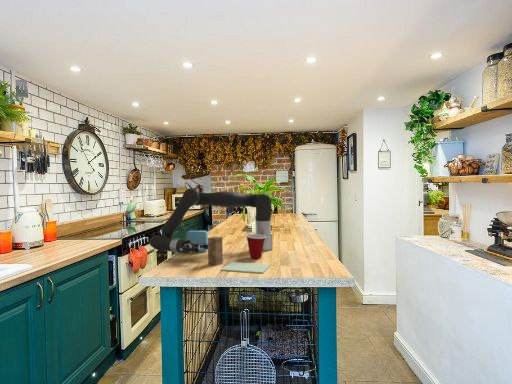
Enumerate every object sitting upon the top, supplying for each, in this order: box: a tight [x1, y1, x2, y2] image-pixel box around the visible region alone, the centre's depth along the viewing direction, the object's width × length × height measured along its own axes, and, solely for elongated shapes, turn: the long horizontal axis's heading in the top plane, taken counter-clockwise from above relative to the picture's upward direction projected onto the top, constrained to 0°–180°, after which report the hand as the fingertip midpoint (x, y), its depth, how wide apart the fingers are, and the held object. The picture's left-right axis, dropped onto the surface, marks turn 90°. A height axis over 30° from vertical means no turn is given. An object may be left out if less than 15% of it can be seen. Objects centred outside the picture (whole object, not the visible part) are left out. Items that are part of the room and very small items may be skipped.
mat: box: [220, 261, 272, 274], centre depth 149 cm, size 20×14×1 cm
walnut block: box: [207, 236, 224, 267], centre depth 158 cm, size 5×5×13 cm
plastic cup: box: [245, 233, 266, 260], centre depth 170 cm, size 11×11×12 cm
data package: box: [185, 230, 209, 253], centre depth 188 cm, size 12×4×12 cm, turn 86°
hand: (204, 248), depth 162 cm, fingers open, 8 cm apart
